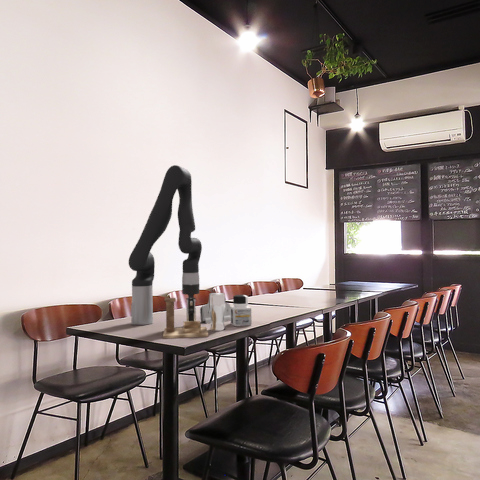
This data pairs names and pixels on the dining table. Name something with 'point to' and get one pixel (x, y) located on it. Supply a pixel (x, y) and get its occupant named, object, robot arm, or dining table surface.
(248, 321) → the container
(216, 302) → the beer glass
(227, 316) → the card swipe reader
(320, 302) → the dining table surface
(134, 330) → the dining table surface
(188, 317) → the brushed grey block
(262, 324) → the dining table surface
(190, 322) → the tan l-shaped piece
